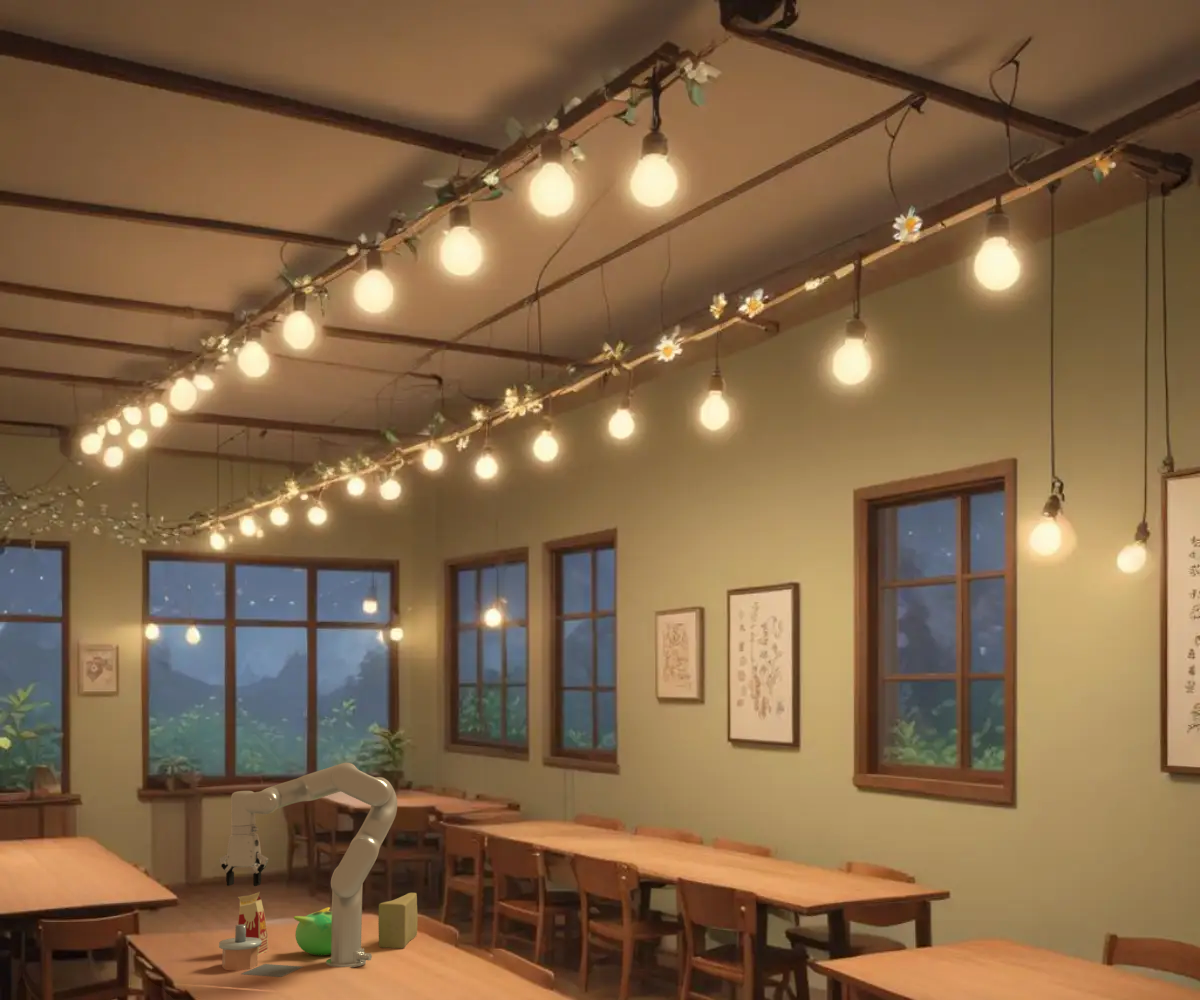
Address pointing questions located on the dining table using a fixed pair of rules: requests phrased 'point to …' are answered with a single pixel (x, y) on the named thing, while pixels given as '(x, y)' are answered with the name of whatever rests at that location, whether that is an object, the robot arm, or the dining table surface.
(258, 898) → the milk carton
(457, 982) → the dining table surface
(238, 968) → the bowl
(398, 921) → the olive green block
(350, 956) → the robot arm
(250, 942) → the lid
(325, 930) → the toy bird
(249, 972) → the mat
